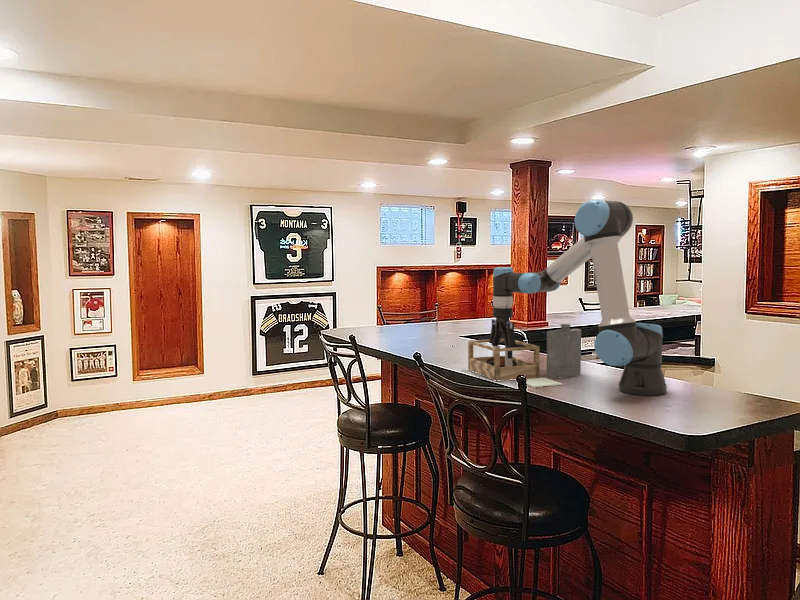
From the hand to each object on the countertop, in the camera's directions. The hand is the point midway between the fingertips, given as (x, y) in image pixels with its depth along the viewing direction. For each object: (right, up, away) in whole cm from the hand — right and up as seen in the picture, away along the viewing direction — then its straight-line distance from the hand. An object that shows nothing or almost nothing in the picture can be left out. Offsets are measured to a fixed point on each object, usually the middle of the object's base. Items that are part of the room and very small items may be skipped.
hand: (502, 364), depth 239 cm
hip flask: (+23, -4, -5) cm, 24 cm away
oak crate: (0, -4, 0) cm, 4 cm away
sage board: (+10, -5, -17) cm, 21 cm away
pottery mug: (-1, -4, -1) cm, 4 cm away
